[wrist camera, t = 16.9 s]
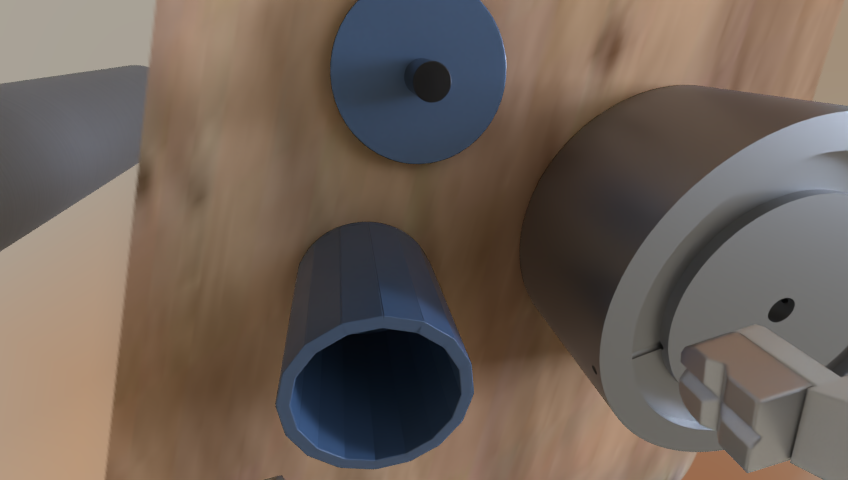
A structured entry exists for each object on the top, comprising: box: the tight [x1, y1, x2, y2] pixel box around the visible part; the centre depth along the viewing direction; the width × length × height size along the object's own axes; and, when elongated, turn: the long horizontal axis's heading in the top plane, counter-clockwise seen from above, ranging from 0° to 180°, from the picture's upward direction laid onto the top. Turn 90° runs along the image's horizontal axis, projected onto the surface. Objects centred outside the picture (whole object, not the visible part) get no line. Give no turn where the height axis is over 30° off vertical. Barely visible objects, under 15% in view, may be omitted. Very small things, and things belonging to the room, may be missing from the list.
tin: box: [275, 222, 474, 469], centre depth 32 cm, size 11×11×14 cm
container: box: [520, 85, 848, 452], centre depth 35 cm, size 25×25×13 cm
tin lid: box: [330, 0, 506, 164], centre depth 29 cm, size 12×12×5 cm
